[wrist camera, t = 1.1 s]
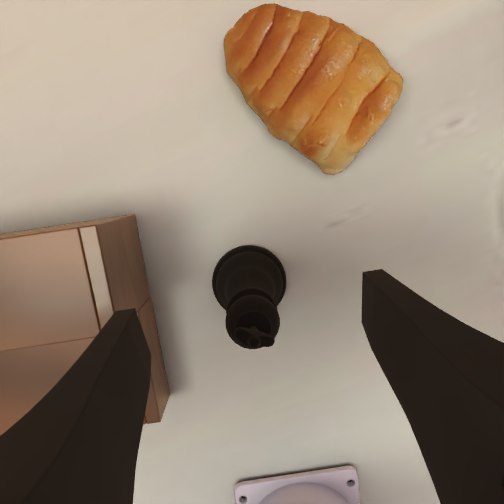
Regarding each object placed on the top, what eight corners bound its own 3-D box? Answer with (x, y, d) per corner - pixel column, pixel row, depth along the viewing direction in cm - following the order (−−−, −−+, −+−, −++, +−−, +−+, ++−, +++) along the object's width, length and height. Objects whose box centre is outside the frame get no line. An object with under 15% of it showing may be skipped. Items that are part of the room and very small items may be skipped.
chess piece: (223, 236, 24) (211, 270, 15) (294, 256, 25) (330, 303, 15) (204, 306, 25) (180, 383, 15) (273, 324, 25) (294, 412, 16)
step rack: (169, 395, 26) (146, 464, 20) (-35, 426, 26) (-126, 505, 20) (134, 213, 24) (96, 223, 18) (-86, 246, 24) (-205, 269, 18)
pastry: (199, 89, 23) (191, 70, 19) (267, -19, 22) (272, -61, 19) (335, 183, 24) (353, 182, 20) (404, 83, 23) (436, 62, 20)
